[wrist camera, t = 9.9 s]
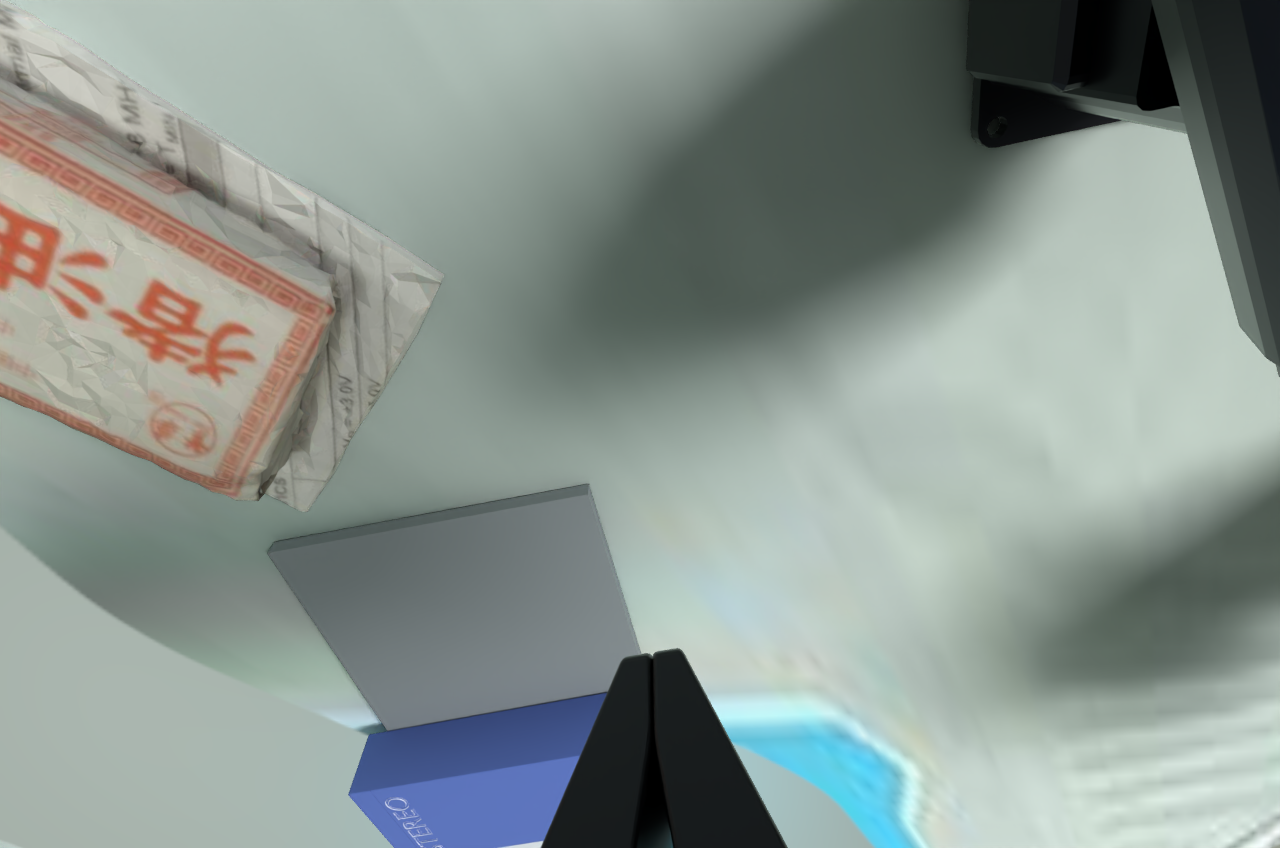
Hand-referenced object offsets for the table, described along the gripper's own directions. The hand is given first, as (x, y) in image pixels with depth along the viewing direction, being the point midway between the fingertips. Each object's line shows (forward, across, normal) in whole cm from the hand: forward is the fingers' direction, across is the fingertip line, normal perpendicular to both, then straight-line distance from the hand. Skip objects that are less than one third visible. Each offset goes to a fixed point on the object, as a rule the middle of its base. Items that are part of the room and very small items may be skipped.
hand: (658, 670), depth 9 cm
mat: (+13, +9, +14) cm, 21 cm away
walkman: (+11, +4, +20) cm, 23 cm away
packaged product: (+14, +15, -6) cm, 21 cm away
